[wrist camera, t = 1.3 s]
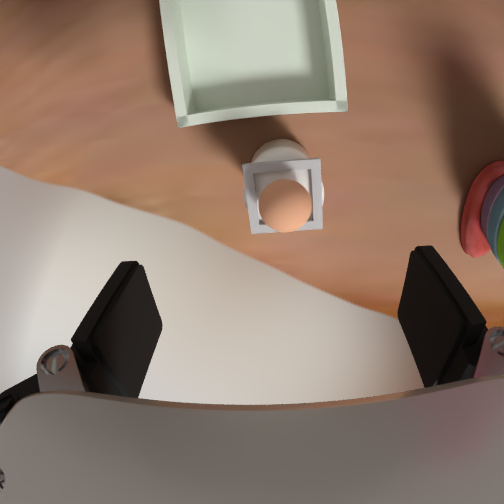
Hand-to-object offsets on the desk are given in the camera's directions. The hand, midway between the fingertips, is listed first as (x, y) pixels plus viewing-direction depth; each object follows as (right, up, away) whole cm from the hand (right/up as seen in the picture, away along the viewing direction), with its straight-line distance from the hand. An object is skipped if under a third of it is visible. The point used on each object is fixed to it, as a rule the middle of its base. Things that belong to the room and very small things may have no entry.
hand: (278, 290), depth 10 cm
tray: (-1, +22, +7) cm, 23 cm away
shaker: (+2, +8, +15) cm, 17 cm away
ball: (+1, +4, +8) cm, 9 cm away
